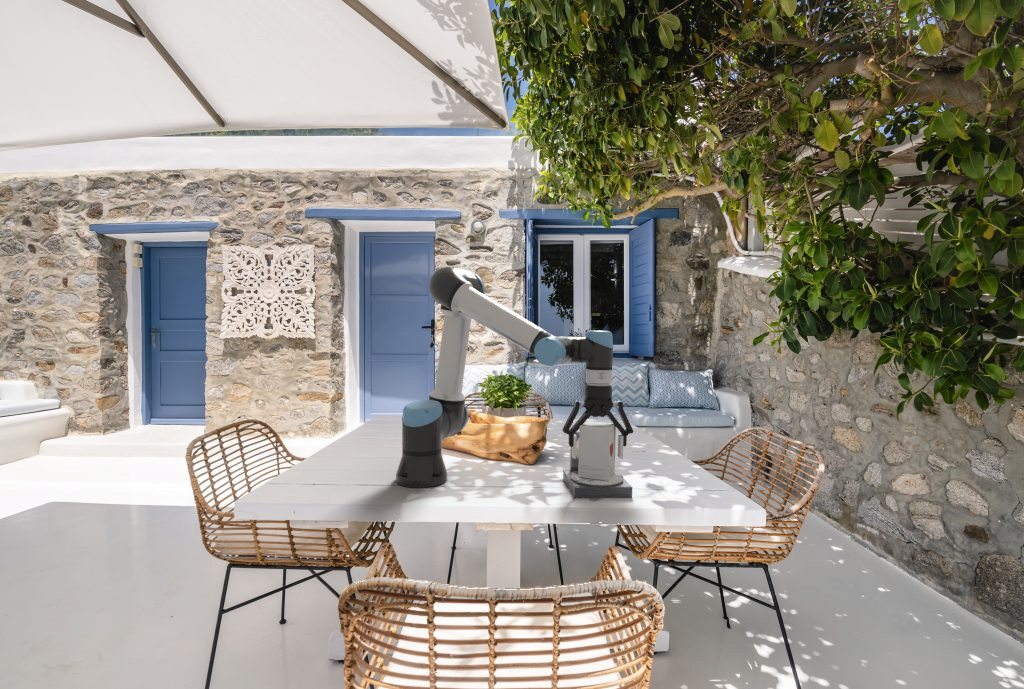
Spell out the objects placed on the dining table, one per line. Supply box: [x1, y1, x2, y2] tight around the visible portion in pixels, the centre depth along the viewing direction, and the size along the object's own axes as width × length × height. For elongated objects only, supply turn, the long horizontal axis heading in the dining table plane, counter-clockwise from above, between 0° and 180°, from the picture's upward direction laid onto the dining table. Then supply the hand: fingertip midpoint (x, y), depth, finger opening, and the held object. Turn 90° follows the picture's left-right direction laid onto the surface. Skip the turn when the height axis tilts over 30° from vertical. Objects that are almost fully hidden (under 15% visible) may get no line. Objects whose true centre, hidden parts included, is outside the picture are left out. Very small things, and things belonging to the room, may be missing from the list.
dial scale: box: [562, 430, 633, 500], centre depth 153 cm, size 16×18×15 cm
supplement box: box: [578, 420, 617, 481], centre depth 152 cm, size 9×9×15 cm
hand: (597, 457), depth 152 cm, fingers open, 13 cm apart
